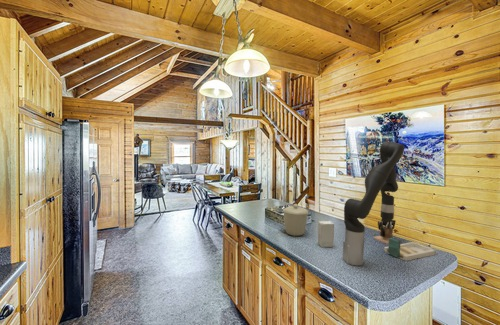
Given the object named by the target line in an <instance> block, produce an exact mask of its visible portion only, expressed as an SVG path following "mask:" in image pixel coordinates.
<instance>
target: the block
mask: <svg viewBox="0 0 500 325" xmlns="http://www.w3.org/2000/svg"><path fill="white" fill-rule="evenodd" d="M384 227H385V226H384ZM384 227H383V229H384ZM380 228H381V227H380ZM393 230H394V229H391V228H388V227H387V228H386V229H385V237H384V238H386V239H389V238H393V234H394V233H393ZM379 236H381V230H379ZM381 237H383V236H381Z"/></svg>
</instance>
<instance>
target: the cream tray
mask: <svg viewBox="0 0 500 325" xmlns="http://www.w3.org/2000/svg"><path fill="white" fill-rule="evenodd" d="M404 246H405V247H407V248H410V249H412V250H414V251H417V253H412V254H408V255H403V258H401V257H397V258H398V259H400V260H403V261H405V262H408V261H413V260H417V258H418V259H422V258H425V257H431V256H435V255H437V250H436V249H434V248H432V247H428V246H426V245H423V244H420V243H418V242H414V241H412V242H405V243H400V247H404ZM388 248H389V245H388V246H384V247H383V251H384V252H385V253H388Z"/></svg>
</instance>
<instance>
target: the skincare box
mask: <svg viewBox="0 0 500 325" xmlns="http://www.w3.org/2000/svg"><path fill="white" fill-rule="evenodd" d="M317 223H318V224H317V225H318V227H317V231H318V232H317V244H318V245H319V246H320V248H334V247H335V246H334V245H335V242H334V241H335V223H334V222H333V221H332V220H320V221H319V220H318V222H317Z"/></svg>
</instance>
